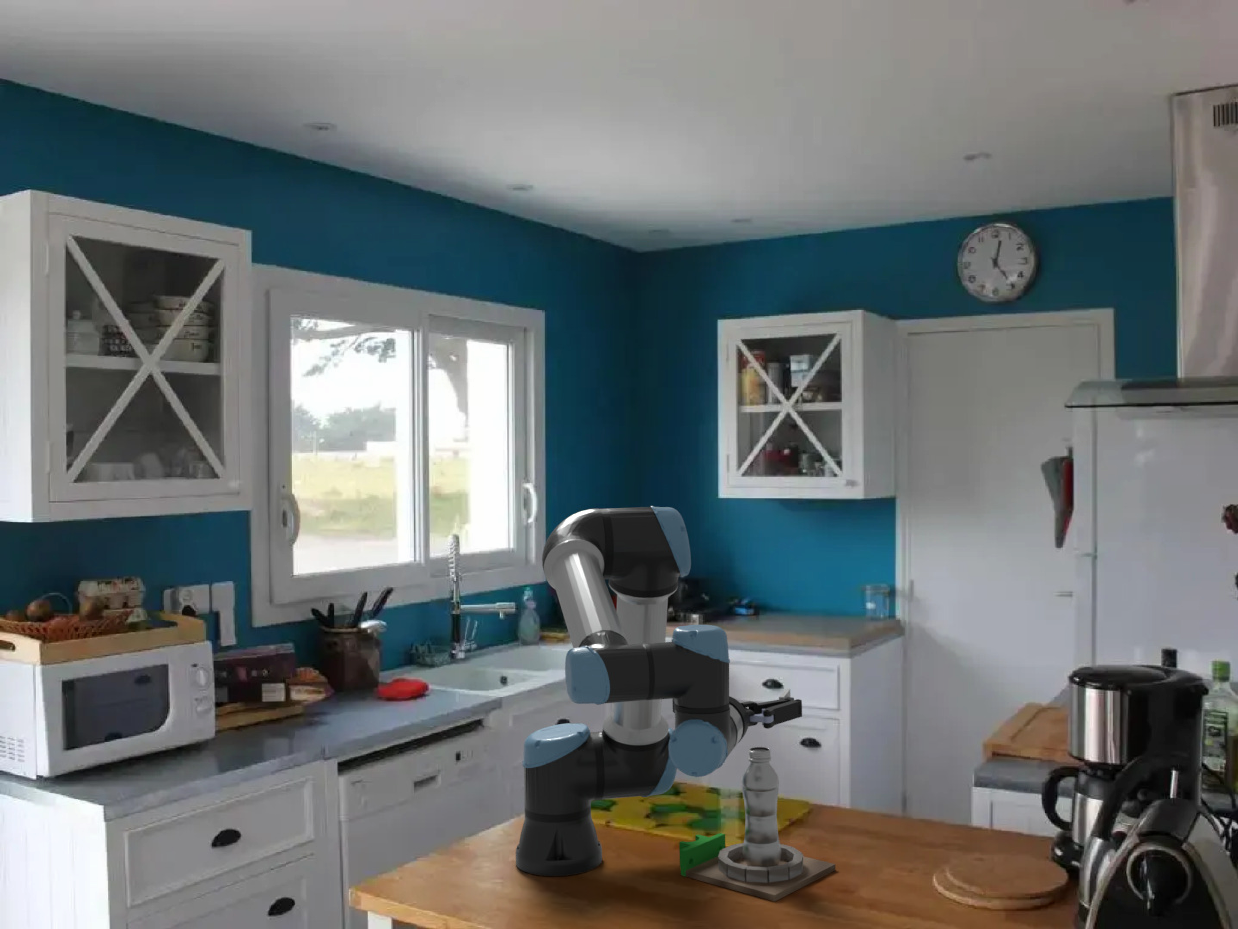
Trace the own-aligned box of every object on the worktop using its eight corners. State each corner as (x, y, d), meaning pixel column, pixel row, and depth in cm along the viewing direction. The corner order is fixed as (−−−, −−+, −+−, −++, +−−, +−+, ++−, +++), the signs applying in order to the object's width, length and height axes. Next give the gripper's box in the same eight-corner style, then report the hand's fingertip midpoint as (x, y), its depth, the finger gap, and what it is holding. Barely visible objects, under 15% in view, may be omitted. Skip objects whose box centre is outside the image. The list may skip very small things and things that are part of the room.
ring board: (685, 876, 203) (685, 858, 203) (748, 848, 216) (748, 831, 216) (774, 901, 191) (774, 882, 191) (835, 870, 204) (835, 852, 204)
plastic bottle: (787, 864, 205) (785, 747, 204) (771, 877, 199) (769, 756, 198) (753, 858, 208) (750, 743, 208) (736, 871, 202) (733, 752, 202)
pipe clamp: (708, 856, 214) (708, 830, 214) (725, 860, 211) (725, 834, 211) (668, 873, 205) (668, 846, 205) (685, 877, 203) (685, 850, 203)
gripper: (635, 747, 177) (671, 715, 197) (805, 756, 170) (824, 722, 190) (634, 696, 177) (669, 670, 197) (804, 703, 170) (823, 675, 190)
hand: (745, 695), depth 194 cm, fingers open, 13 cm apart
